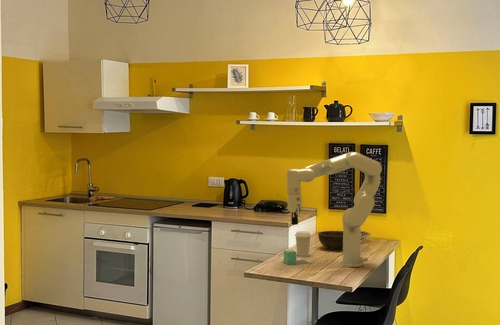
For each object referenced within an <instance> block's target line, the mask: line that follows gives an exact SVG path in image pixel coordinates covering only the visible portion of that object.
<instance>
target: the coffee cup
mask: <svg viewBox="0 0 500 325" xmlns="http://www.w3.org/2000/svg"><path fill="white" fill-rule="evenodd" d="M294 236H295V242H296V244H295V245H296V257H300V258H301V257H302V258H307V257H309V254H310V243H311V237H312V234H311V233H310V231H303V230H301V231H300V230H299V231H296V233H295V234H294Z"/></svg>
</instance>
